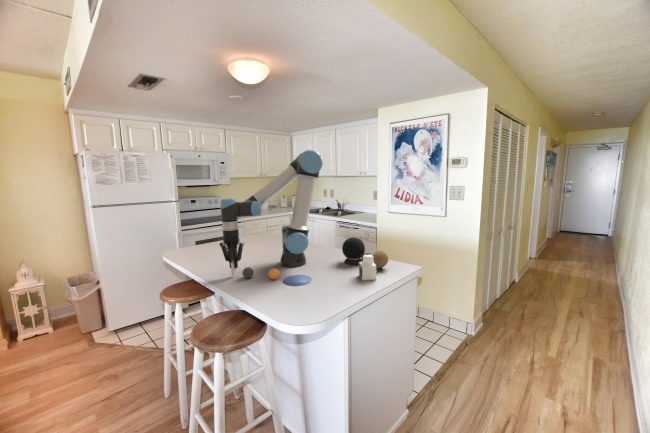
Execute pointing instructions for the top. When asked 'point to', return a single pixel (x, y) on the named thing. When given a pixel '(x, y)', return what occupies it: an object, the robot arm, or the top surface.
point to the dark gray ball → (248, 272)
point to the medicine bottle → (367, 267)
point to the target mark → (297, 280)
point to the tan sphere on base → (380, 259)
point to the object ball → (274, 273)
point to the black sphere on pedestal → (353, 251)
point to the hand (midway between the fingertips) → (234, 274)
